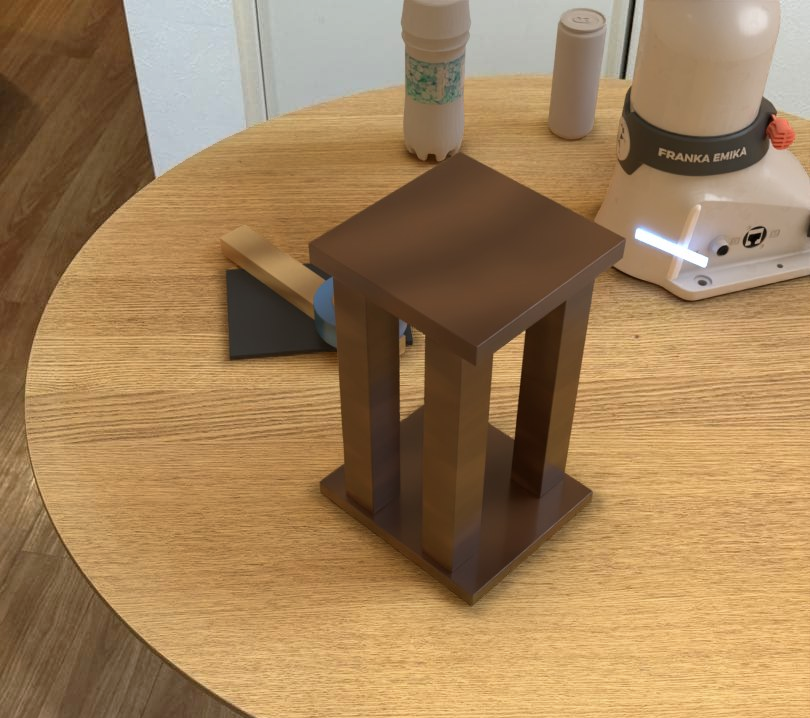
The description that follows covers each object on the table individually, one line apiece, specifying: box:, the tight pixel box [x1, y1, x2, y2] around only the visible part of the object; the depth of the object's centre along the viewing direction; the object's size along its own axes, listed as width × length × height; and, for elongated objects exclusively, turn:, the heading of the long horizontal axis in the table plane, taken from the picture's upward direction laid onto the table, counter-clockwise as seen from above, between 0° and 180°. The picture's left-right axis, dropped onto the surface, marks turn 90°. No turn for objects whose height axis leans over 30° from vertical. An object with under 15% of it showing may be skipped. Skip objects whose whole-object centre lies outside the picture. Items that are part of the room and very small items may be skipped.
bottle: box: [400, 0, 472, 162], centre depth 113 cm, size 7×7×20 cm
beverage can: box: [547, 7, 608, 140], centre depth 118 cm, size 5×5×12 cm
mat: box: [225, 262, 414, 361], centre depth 104 cm, size 16×12×1 cm
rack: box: [307, 151, 626, 607], centre depth 81 cm, size 16×14×24 cm
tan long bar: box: [219, 224, 407, 356], centre depth 103 cm, size 22×8×4 cm, turn 44°
